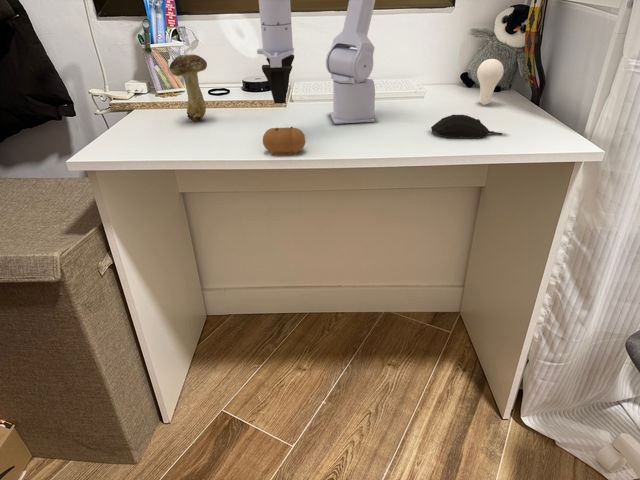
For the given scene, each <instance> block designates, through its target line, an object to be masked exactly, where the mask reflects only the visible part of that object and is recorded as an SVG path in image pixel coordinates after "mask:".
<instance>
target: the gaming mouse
mask: <svg viewBox="0 0 640 480" xmlns="http://www.w3.org/2000/svg"><path fill="white" fill-rule="evenodd" d="M430 128H431V132H432V133H434V134H436V135H438V136H440V137H443V138H450V139H451V138H452V139H454V138H455V139H462V138H463V139H479V138H484V137H486V136H487V135H488V134H490V135H500V136H502V135H503V132H497V131H494V130H489V128H488V127H487V126H486V125H484V124H483V122H481V120H480V118H477V119H476V118H475V117H473V116H470V115H467V114H451V115H447V116H444V117H442V118H441V119H439V120H438V121H437V122H436V123H434V124H433V125H432V126H431V127H430Z"/></svg>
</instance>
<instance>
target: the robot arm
mask: <svg viewBox="0 0 640 480" xmlns="http://www.w3.org/2000/svg"><path fill="white" fill-rule="evenodd" d="M375 4H376V0H348V3H347V9H346V14H345V18H344V24H343V28H342V30H341V32H339V34H337V35H336V36H335V37H334V38H333V39H332V42H331V46H330V49H329V50H328V52H327V53H326V57H325V66H326V70H327V72H328V73H329V74H330V79H331V80H333V81H332V82H333V83H332V84H333V85H332V86H333V87H332V88H333V89H332V94H333V97H332V98H333V99H332V100H333V101H332V102H333V106H332V107H333V108H332V109H333V110H332V111H330V112H329V116H330V117H331V119H332V120H331V121H332V122H333V124H334V125H341V124H355V123H356V124H357V123H373V122H375V105H376V104H375V101H376V87H375V81H374V79H372V78H369V77H370V76H371V75H372V72H373V68H374V52H375V46H374V44H373V43H372V41H371V39H369V37H368V34H369V30H370V25H371V22H372V17H373V13H374V9H375ZM291 6H292V5H291V0H258V7H259V20H260V30H261V31H260V32H261V42H262V48H257V49H256V55H262V56H264V57H265V59H266V62H267V63H268V64H262V65H261V71H262V73H263V75H264V76H265V78H266V80H267V83H268V85H269V88H270V92H271V96H272V100H273V102H274V104H275V105H276V104H286V101H287V95H288V92H289V84H290V75H291V72H292V70H293V62H294V60H295V47H294V45H293V44H294V43H293V28H292V26H293V24H292V9H291Z"/></svg>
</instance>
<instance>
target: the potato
mask: <svg viewBox="0 0 640 480" xmlns="http://www.w3.org/2000/svg"><path fill="white" fill-rule="evenodd" d="M262 144H263V146H264V148H265V150H267V151H268V152H270V153H271V155H297V154H298V152H300V151H301V150H302V149H303V148H304V147H305V144H306V136H305V133H304V132H303V131H302V130H301V129H299V128H298V127H293V126H290V127H272V128H269V129H267V130H266V131H264V134H263V136H262Z"/></svg>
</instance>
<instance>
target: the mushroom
mask: <svg viewBox="0 0 640 480" xmlns="http://www.w3.org/2000/svg"><path fill="white" fill-rule="evenodd" d="M207 68H208V63H207V61H206V59H204V58H203V57H201V56H200V55H197V54H193V53H192V54H187V53H185V54H180V55H178V56H175V58H174V59H172V61H171V63H170V64H169V68H168V69H169V71H170V73H171V74H172V75H173V76H175V77H182V79H183V81H184V85H185V89H186V93H187V107H186V114H187V116H186V117H187V118H188V121H191V122H199V121H201V119H202V118H203V117H204V115H205V114H206V112H207V105H206V101H205V99H204V95H203V93H202V91H201V90H202V89H201V87H200V84H199V83H200V82H199V77H198V73H200V72H203V71H205V70H206V69H207Z"/></svg>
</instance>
